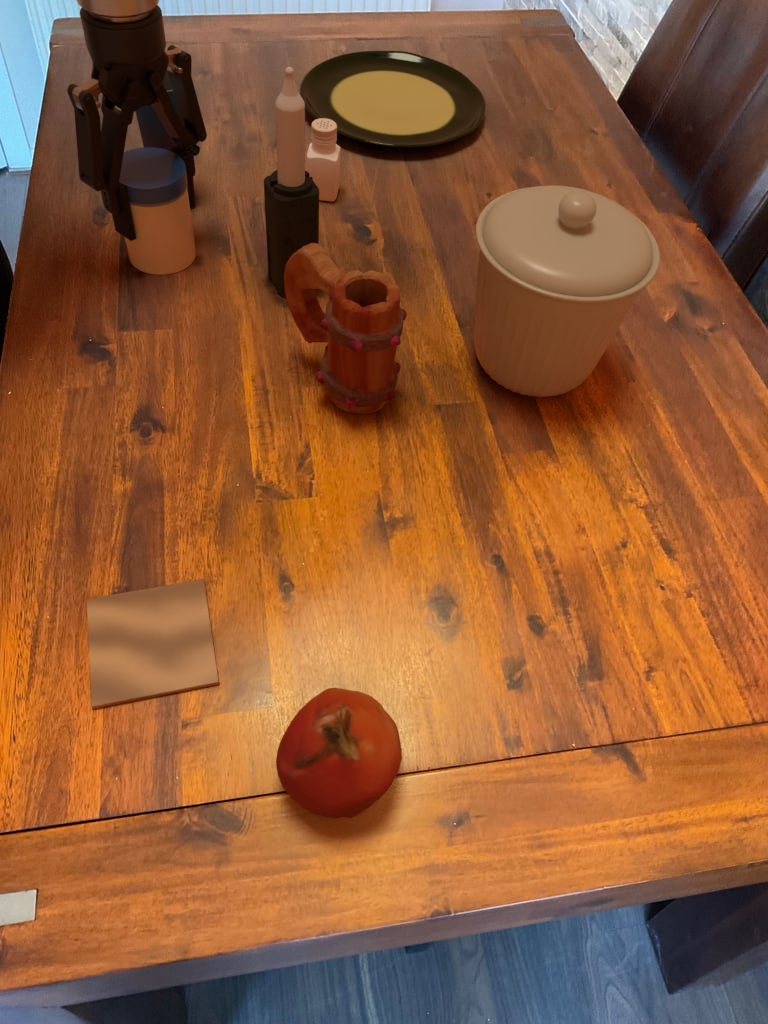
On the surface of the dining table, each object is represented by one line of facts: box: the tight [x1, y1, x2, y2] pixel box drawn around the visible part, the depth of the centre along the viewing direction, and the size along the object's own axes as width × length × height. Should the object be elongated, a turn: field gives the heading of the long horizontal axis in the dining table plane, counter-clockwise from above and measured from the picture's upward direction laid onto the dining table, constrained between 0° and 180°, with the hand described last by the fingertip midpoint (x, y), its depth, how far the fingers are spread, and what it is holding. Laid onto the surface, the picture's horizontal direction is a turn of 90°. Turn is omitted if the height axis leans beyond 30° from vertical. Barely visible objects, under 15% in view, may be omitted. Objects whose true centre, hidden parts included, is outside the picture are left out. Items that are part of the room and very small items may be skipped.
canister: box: [473, 184, 661, 398], centre depth 83 cm, size 18×18×21 cm
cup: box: [134, 70, 195, 191], centre depth 99 cm, size 7×7×15 cm
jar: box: [123, 187, 197, 276], centre depth 93 cm, size 8×8×11 cm
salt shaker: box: [306, 118, 342, 202], centre depth 104 cm, size 4×4×10 cm
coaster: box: [85, 578, 220, 710], centre depth 67 cm, size 10×10×1 cm
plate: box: [299, 50, 487, 148], centre depth 121 cm, size 28×28×2 cm
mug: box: [284, 243, 408, 414], centre depth 81 cm, size 15×8×15 cm, turn 48°
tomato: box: [275, 687, 403, 820], centre depth 59 cm, size 9×9×8 cm
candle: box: [263, 66, 320, 298], centre depth 86 cm, size 5×5×25 cm
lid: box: [119, 146, 188, 204], centre depth 89 cm, size 8×8×2 cm
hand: (156, 218), depth 93 cm, fingers closed on lid, 8 cm apart
